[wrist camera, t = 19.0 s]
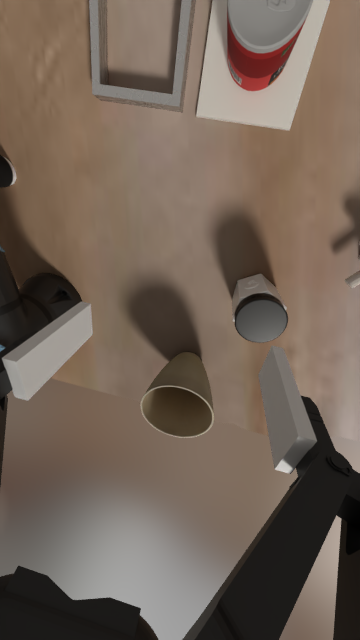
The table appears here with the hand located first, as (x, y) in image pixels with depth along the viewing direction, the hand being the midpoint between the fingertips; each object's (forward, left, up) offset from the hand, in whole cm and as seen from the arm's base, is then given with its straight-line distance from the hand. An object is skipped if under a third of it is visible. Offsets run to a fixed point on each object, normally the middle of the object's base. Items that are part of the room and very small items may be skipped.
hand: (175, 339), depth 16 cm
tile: (+1, +26, -32) cm, 41 cm away
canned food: (+1, +26, -31) cm, 41 cm away
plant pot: (+1, -29, -32) cm, 43 cm away
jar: (+11, -7, -32) cm, 34 cm away
